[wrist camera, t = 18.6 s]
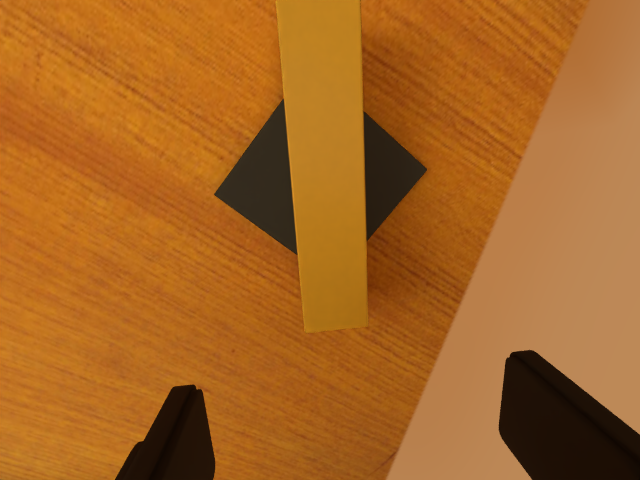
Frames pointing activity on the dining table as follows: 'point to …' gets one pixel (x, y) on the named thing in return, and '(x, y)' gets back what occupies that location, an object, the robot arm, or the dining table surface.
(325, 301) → the bar
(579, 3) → the dining table surface
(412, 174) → the mat
